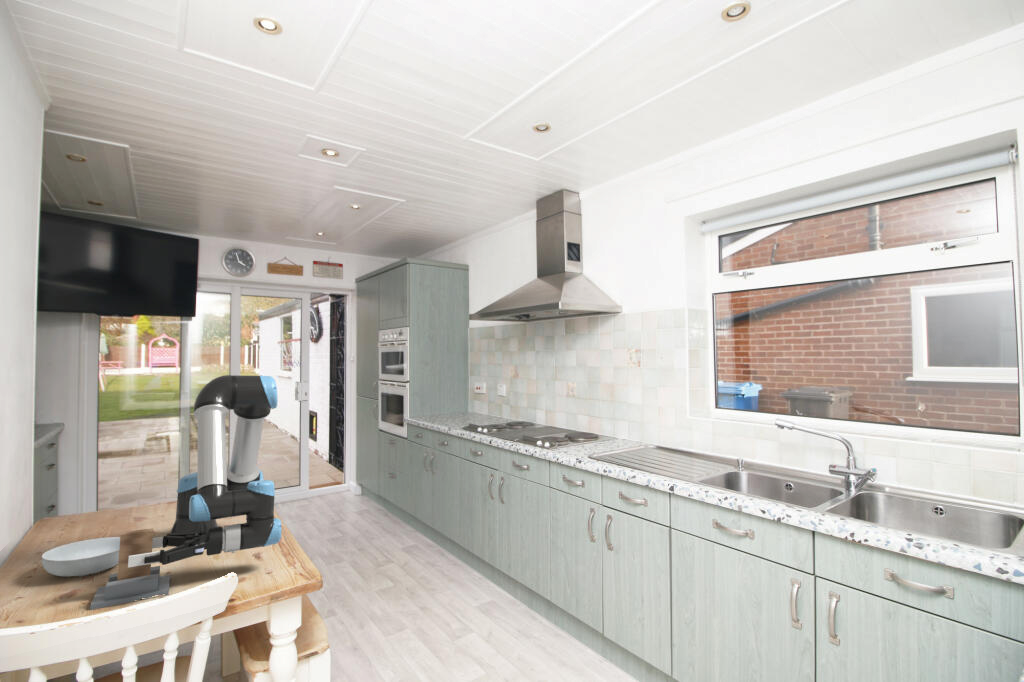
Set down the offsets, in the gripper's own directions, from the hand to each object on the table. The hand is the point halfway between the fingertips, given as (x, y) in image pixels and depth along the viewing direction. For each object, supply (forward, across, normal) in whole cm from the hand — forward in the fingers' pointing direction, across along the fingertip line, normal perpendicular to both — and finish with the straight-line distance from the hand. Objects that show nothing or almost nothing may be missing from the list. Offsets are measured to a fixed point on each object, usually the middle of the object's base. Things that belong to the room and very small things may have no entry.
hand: (131, 553), depth 130 cm
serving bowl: (+12, +26, -11) cm, 31 cm away
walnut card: (-1, 0, -9) cm, 9 cm away
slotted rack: (-1, 0, -11) cm, 11 cm away
